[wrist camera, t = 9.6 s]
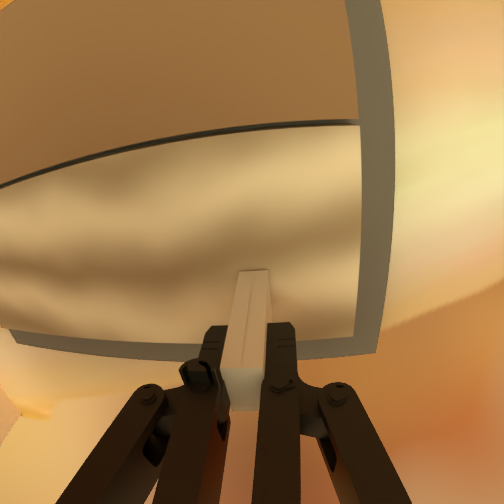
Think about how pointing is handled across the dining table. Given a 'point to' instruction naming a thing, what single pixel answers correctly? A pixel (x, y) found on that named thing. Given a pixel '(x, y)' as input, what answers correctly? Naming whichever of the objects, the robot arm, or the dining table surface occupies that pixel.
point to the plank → (187, 236)
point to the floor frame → (200, 106)
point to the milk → (7, 414)
